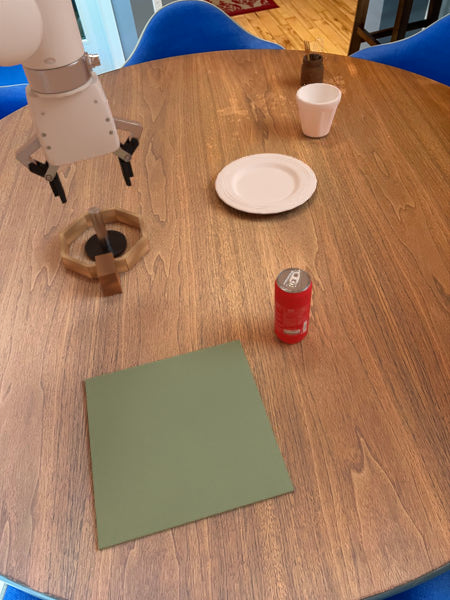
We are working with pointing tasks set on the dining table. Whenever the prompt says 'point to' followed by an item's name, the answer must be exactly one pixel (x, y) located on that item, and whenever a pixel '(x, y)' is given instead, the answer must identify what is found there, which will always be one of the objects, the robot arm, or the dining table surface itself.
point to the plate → (265, 183)
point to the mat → (179, 443)
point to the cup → (317, 108)
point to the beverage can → (292, 305)
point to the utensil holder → (312, 66)
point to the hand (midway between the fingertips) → (96, 189)
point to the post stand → (104, 238)
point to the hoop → (106, 264)
